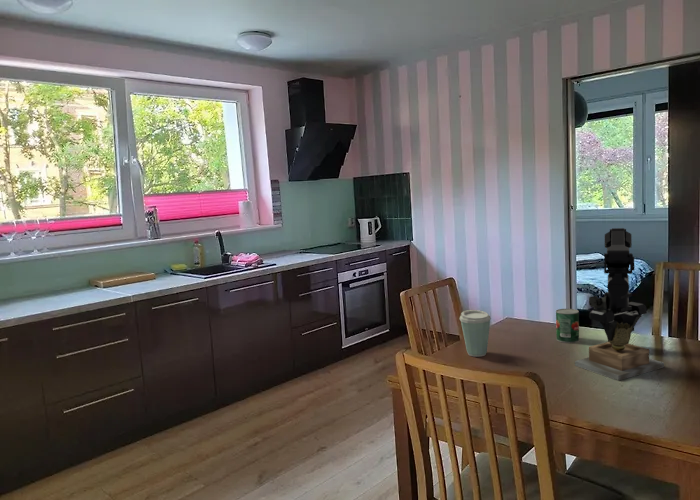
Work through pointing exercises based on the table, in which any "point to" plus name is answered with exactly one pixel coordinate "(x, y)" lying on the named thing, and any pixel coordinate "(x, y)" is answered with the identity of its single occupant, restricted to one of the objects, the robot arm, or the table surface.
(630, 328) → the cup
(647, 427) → the table surface
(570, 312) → the canned tomato
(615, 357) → the wooden square tray
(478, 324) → the disposable coffee cup
